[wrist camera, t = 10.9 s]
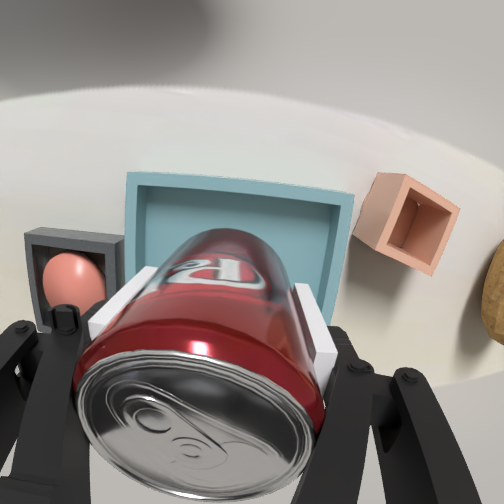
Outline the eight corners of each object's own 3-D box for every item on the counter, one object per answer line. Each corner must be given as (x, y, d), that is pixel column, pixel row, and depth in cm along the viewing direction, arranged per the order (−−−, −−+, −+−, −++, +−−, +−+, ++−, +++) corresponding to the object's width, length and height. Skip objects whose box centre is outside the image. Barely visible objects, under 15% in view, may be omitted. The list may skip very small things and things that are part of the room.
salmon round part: (59, 309, 29) (48, 318, 26) (52, 244, 27) (39, 250, 24) (116, 321, 29) (106, 333, 26) (112, 252, 27) (100, 259, 24)
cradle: (51, 319, 29) (37, 330, 26) (41, 227, 26) (24, 233, 23) (132, 337, 29) (122, 353, 26) (128, 236, 26) (114, 243, 24)
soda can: (309, 303, 18) (366, 466, 7) (212, 354, 19) (177, 515, 8) (245, 200, 17) (222, 269, 5) (145, 266, 18) (24, 388, 6)
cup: (350, 232, 26) (374, 250, 20) (375, 172, 25) (405, 174, 19) (401, 256, 27) (431, 276, 21) (424, 199, 25) (460, 208, 20)
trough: (137, 296, 28) (126, 309, 25) (140, 171, 25) (127, 171, 22) (321, 316, 28) (328, 332, 26) (343, 192, 25) (354, 194, 22)
